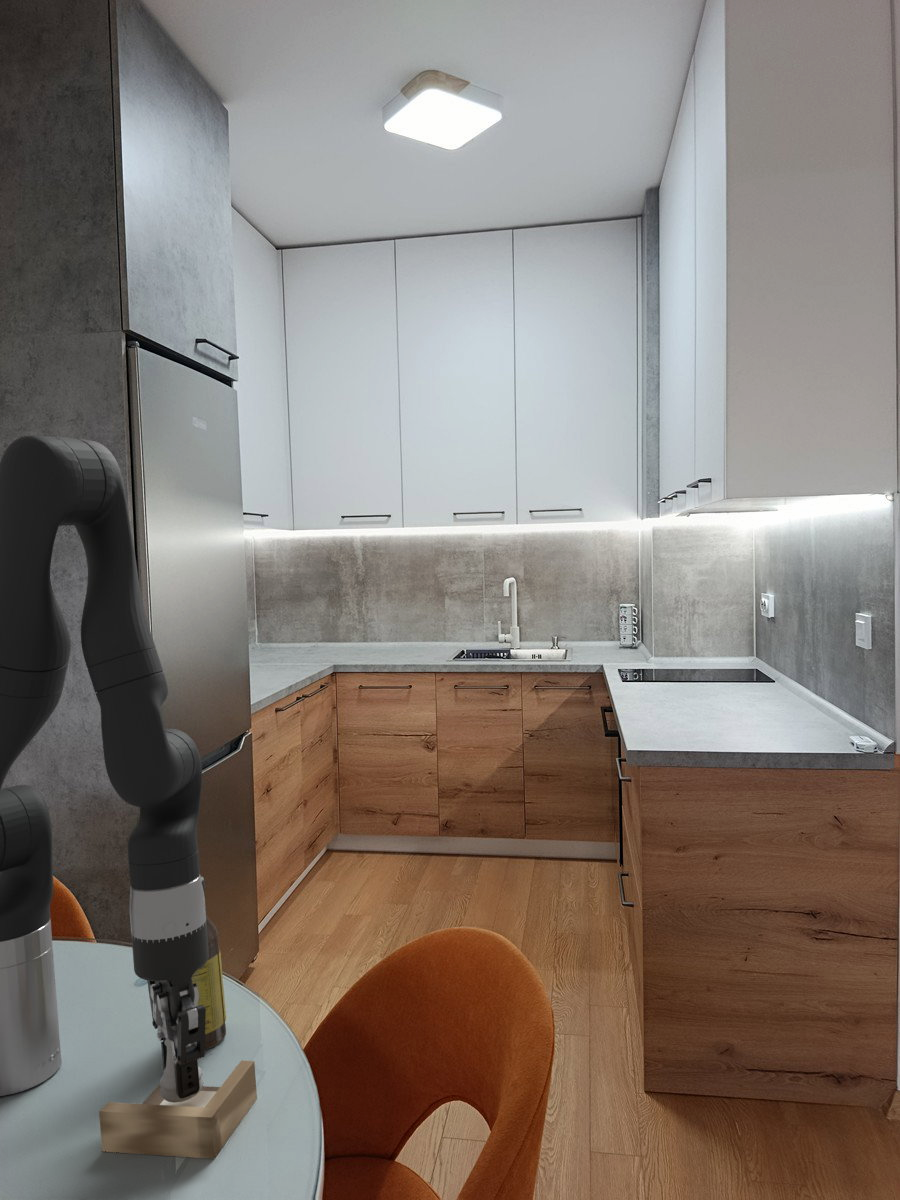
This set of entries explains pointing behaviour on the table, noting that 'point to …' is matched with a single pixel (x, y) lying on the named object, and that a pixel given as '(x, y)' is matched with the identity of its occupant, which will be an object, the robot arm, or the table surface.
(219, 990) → the sauce bottle
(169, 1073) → the rook chess piece
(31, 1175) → the table surface
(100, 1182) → the table surface
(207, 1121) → the wooden tray
